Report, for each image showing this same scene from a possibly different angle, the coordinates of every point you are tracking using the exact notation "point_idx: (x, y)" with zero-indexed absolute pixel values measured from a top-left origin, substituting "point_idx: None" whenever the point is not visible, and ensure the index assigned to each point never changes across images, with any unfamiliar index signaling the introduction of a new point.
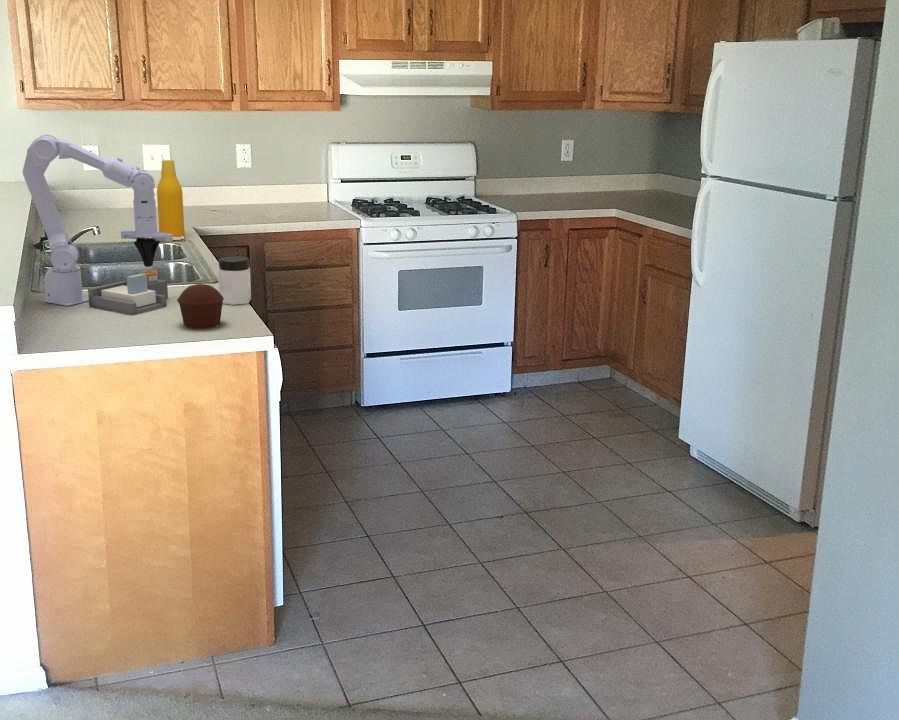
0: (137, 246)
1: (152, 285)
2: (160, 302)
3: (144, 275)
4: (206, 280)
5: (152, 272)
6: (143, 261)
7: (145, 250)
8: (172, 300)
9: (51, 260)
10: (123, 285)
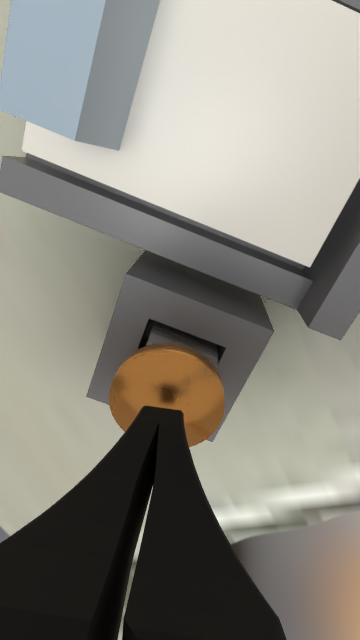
0: (221, 579)
1: (120, 294)
2: (36, 163)
3: (5, 74)
4: (126, 596)
5: (121, 374)
6: (180, 434)
7: (106, 516)
8: (76, 318)
9: None
10: (307, 264)
